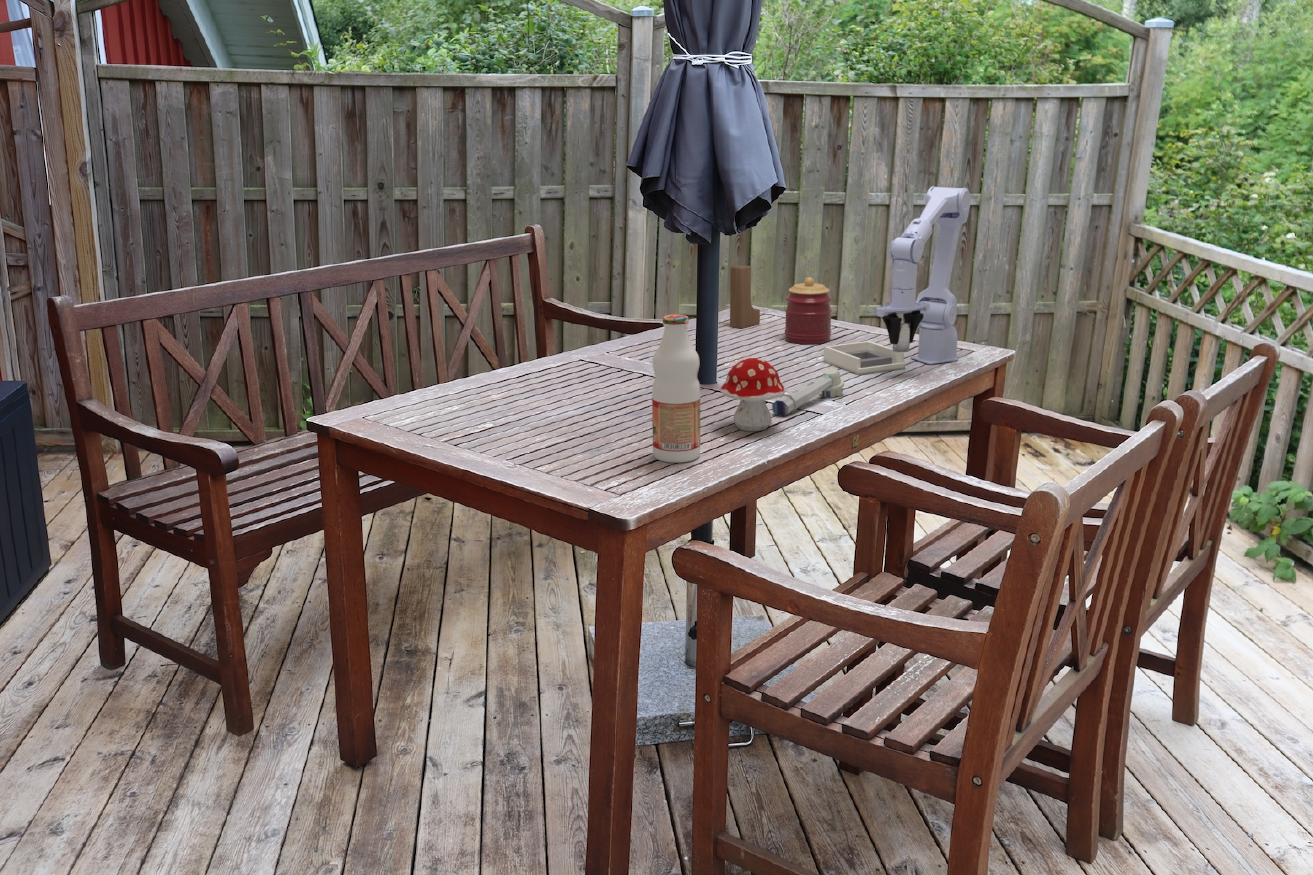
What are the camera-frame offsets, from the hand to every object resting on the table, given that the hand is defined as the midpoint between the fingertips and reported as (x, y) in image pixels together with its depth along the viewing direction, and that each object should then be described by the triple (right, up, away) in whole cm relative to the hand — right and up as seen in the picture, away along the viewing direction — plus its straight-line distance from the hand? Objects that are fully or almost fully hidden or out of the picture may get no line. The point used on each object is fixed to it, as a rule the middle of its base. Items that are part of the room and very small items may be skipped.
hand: (901, 342), depth 288 cm
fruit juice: (-56, -27, -56) cm, 84 cm away
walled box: (-7, -5, +13) cm, 15 cm away
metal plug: (0, -2, +1) cm, 2 cm away
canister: (-18, +4, +42) cm, 46 cm away
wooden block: (-34, +10, +61) cm, 71 cm away
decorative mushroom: (-40, -21, -38) cm, 59 cm away
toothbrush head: (-25, -16, -20) cm, 36 cm away
